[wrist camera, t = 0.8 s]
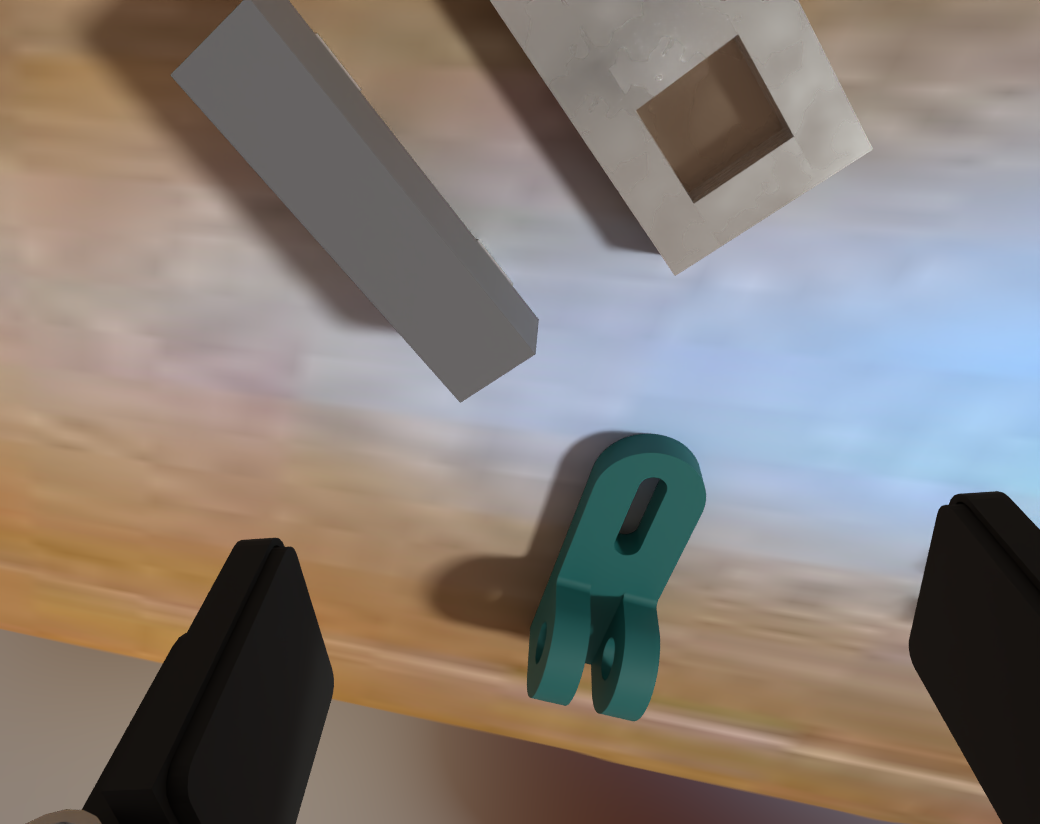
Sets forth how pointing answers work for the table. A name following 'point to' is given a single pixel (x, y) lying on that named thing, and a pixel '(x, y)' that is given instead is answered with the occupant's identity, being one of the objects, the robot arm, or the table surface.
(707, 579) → the table surface
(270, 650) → the robot arm
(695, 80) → the mounting plate
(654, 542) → the bracket
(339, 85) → the grey bar
